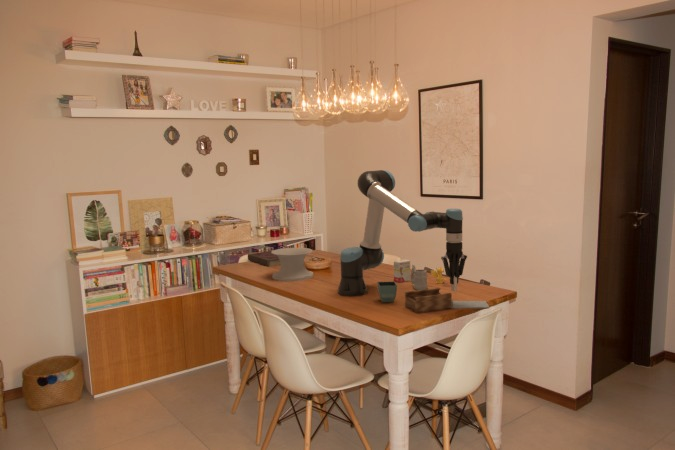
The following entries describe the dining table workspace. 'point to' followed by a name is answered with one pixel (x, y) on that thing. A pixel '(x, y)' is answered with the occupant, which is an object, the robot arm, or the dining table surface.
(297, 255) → the grey spool stand
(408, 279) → the ink box
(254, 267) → the dining table surface
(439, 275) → the figurine
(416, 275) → the mug
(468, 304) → the lid
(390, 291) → the flower pot
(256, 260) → the book
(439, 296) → the box
